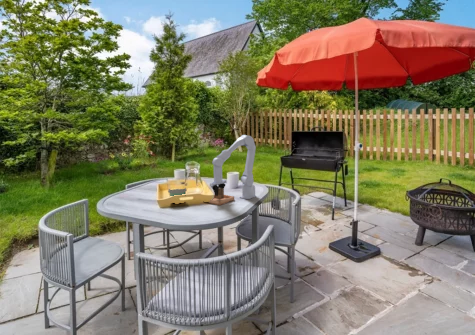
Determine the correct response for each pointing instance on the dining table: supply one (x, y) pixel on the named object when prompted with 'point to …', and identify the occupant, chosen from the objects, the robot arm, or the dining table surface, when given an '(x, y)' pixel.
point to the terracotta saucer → (222, 200)
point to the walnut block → (220, 193)
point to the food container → (177, 192)
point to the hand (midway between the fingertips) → (218, 194)
